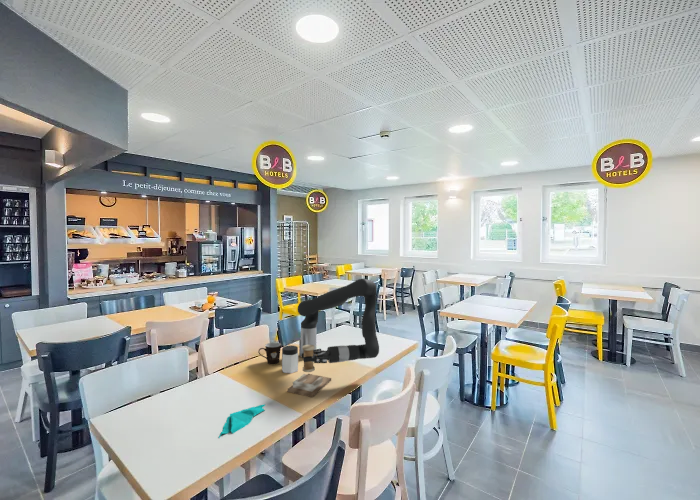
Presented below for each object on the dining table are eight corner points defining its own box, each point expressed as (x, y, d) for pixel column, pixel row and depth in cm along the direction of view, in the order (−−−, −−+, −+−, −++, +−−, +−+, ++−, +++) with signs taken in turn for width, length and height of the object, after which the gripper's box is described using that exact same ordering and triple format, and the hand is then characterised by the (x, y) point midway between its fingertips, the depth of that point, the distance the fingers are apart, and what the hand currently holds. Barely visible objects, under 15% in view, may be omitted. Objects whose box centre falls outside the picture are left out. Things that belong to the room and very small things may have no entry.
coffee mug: (282, 359, 193) (283, 342, 192) (278, 365, 184) (278, 347, 184) (263, 359, 194) (263, 341, 194) (257, 364, 185) (257, 346, 185)
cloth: (257, 402, 145) (257, 396, 145) (279, 411, 137) (279, 406, 137) (200, 430, 124) (200, 424, 124) (223, 443, 116) (223, 437, 116)
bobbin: (300, 371, 156) (300, 347, 156) (306, 366, 161) (306, 344, 161) (310, 372, 154) (310, 349, 154) (316, 368, 159) (316, 345, 159)
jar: (281, 367, 181) (281, 345, 181) (296, 366, 184) (296, 344, 183) (282, 374, 173) (283, 351, 172) (298, 372, 175) (299, 349, 175)
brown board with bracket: (287, 391, 154) (287, 383, 153) (308, 375, 171) (308, 368, 171) (312, 397, 149) (312, 388, 148) (331, 380, 166) (331, 373, 166)
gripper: (334, 341, 168) (300, 345, 163) (342, 351, 155) (305, 354, 150) (334, 356, 169) (300, 360, 163) (342, 367, 155) (305, 371, 150)
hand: (302, 357), depth 157 cm, fingers closed on bobbin, 4 cm apart
